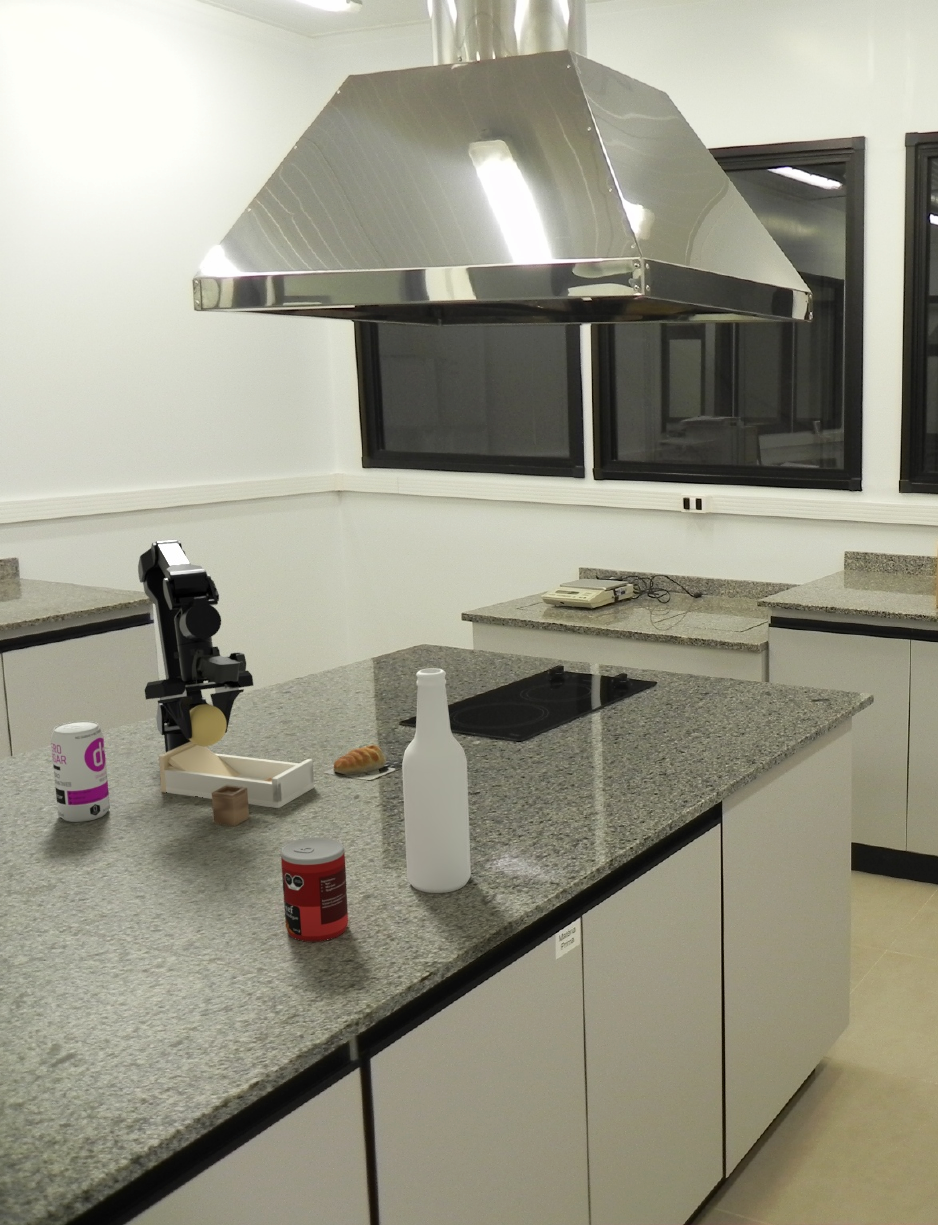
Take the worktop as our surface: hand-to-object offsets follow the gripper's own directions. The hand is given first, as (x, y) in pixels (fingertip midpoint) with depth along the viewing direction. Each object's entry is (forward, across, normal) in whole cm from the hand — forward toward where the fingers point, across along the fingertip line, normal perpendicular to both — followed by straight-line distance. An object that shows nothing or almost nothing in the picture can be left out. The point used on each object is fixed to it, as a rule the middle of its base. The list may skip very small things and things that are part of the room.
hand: (206, 735), depth 204 cm
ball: (-2, 0, 0) cm, 2 cm away
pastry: (+10, +28, -7) cm, 30 cm away
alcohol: (+24, -3, -50) cm, 56 cm away
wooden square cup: (+14, -4, -8) cm, 16 cm away
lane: (+10, +7, +2) cm, 12 cm away
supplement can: (+10, -15, +14) cm, 23 cm away
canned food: (+26, -23, -46) cm, 58 cm away
